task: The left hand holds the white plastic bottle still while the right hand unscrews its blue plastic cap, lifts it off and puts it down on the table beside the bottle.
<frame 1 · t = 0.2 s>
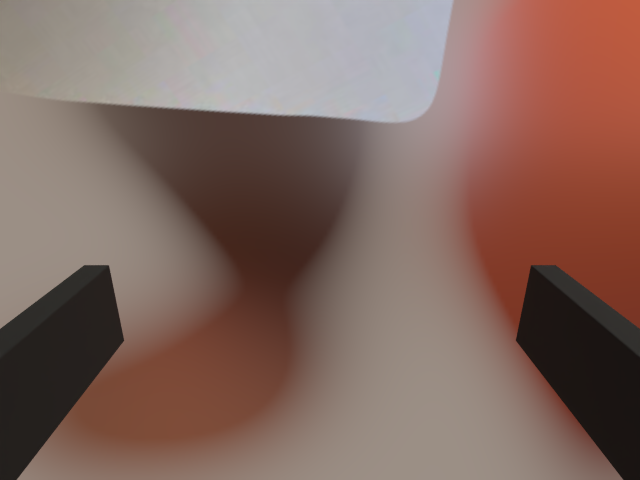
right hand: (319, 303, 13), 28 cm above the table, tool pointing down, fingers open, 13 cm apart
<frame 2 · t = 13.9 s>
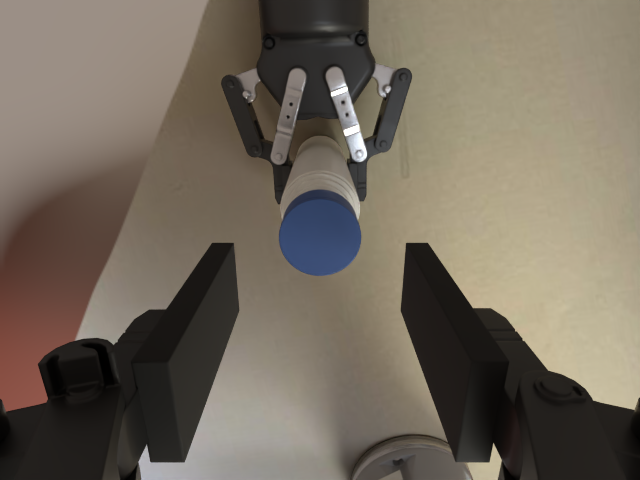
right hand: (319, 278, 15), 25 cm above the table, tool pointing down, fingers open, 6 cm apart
left hand: (320, 206, 33), fingers closed on bottle, 4 cm apart
cap: (320, 236, 19), point 21 cm above the table, screwed on, not yet turned
bottle: (320, 159, 38), on the table, touching left hand
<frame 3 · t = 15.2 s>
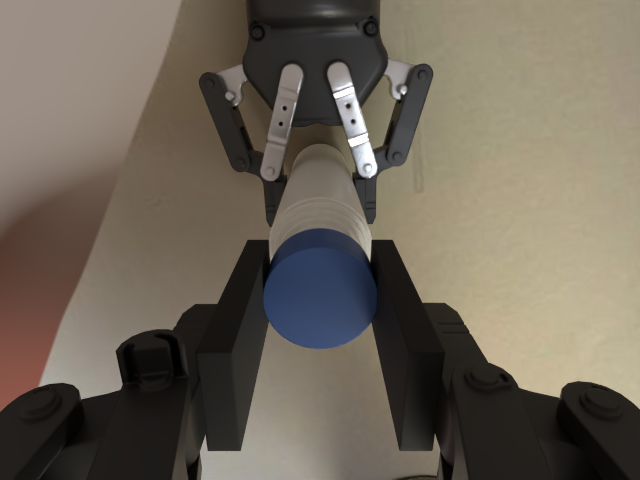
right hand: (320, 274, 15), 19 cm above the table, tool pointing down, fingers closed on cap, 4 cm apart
left hand: (321, 229, 28), fingers closed on bottle, 4 cm apart
cap: (320, 296, 13), point 21 cm above the table, screwed on, not yet turned, touching right hand
bottle: (320, 171, 33), on the table, touching left hand
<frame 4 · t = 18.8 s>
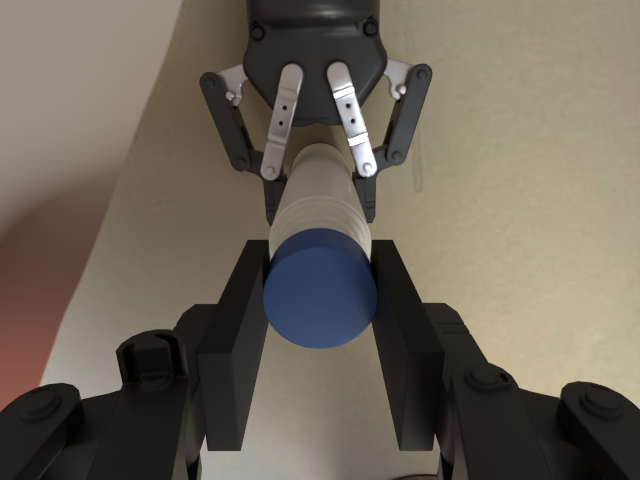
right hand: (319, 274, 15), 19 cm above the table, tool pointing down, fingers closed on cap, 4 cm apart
left hand: (320, 228, 28), fingers closed on bottle, 4 cm apart
cap: (320, 296, 13), point 21 cm above the table, turned 132° so far, risen 0.1 cm, still on its thread, touching right hand
bottle: (320, 170, 33), on the table, touching left hand
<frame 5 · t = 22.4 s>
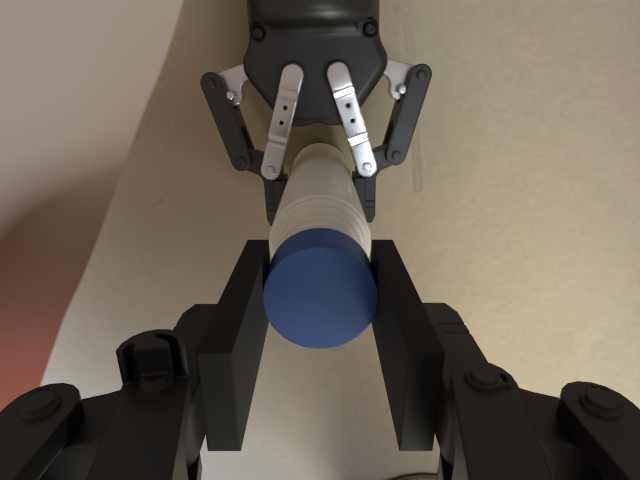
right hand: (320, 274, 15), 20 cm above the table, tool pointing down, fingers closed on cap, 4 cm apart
left hand: (321, 227, 28), fingers closed on bottle, 4 cm apart
cap: (320, 296, 13), point 21 cm above the table, turned 264° so far, risen 0.3 cm, still on its thread, touching right hand
bottle: (320, 170, 33), on the table, touching left hand
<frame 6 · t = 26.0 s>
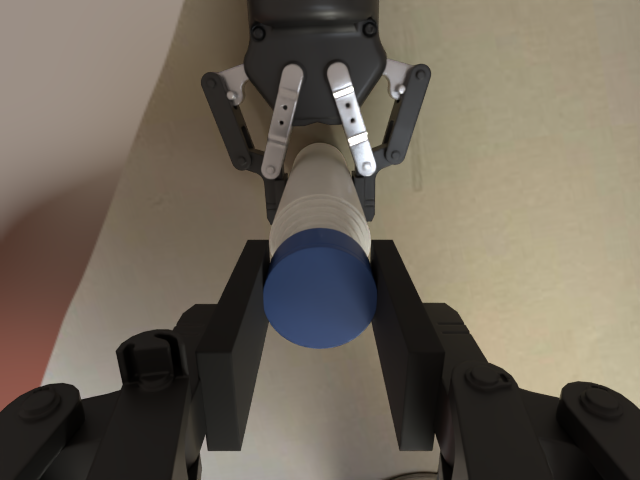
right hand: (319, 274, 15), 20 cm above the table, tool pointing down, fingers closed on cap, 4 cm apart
left hand: (320, 226, 28), fingers closed on bottle, 4 cm apart
cap: (320, 296, 13), point 21 cm above the table, turned 396° so far, risen 0.5 cm, still on its thread, touching right hand
bottle: (320, 170, 33), on the table, touching left hand
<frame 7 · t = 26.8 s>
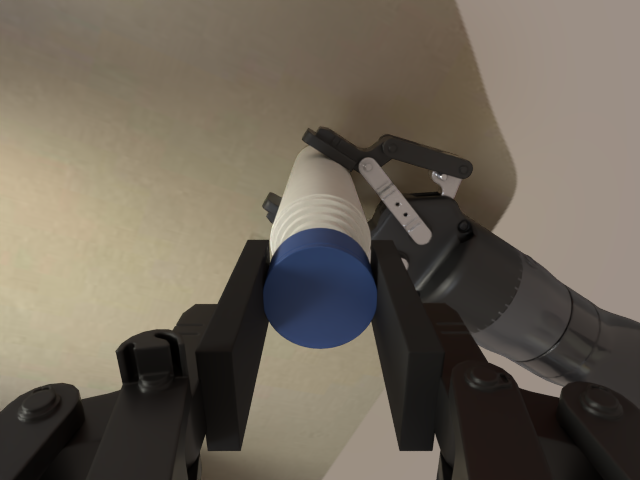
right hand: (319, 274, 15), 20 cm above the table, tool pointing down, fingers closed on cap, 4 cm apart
cap: (320, 295, 13), point 22 cm above the table, off its thread, touching right hand
bottle: (320, 170, 33), on the table, touching left hand
when the right hand's fingers open (1 cm above the table, at t = 32.1 s): cap drops 1 cm, point 2 cm above the table.
when the left hand's fingers open (7 cm above the table, at t = 33.4 s): bottle stays where it is, on the table.
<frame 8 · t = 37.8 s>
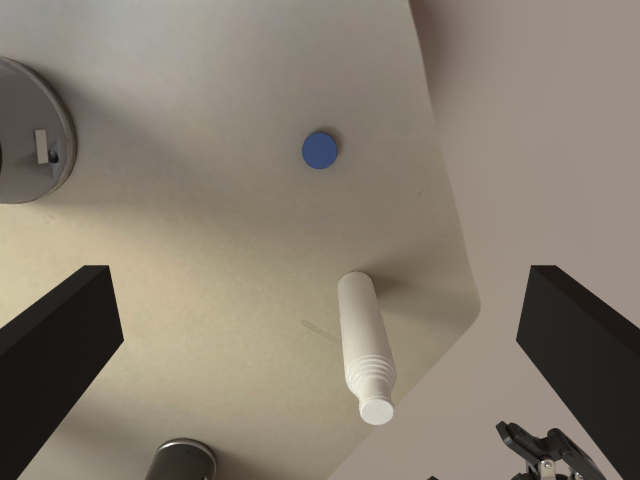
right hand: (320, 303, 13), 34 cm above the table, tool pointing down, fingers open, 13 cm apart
cap: (319, 151, 43), point 2 cm above the table, off its thread
bottle: (355, 287, 51), on the table
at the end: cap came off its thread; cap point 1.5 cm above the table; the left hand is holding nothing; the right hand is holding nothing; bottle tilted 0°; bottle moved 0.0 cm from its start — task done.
